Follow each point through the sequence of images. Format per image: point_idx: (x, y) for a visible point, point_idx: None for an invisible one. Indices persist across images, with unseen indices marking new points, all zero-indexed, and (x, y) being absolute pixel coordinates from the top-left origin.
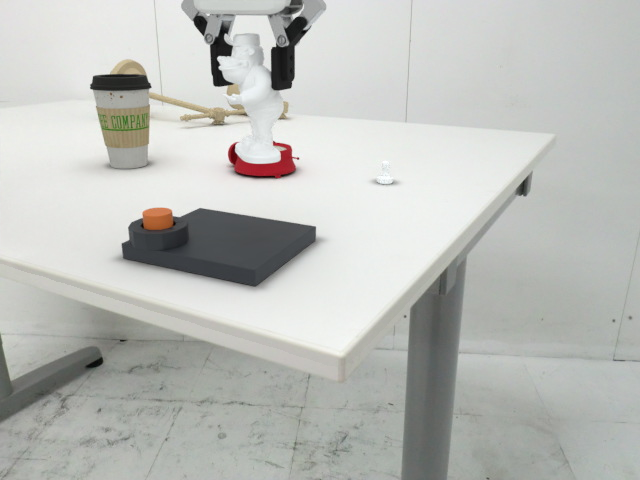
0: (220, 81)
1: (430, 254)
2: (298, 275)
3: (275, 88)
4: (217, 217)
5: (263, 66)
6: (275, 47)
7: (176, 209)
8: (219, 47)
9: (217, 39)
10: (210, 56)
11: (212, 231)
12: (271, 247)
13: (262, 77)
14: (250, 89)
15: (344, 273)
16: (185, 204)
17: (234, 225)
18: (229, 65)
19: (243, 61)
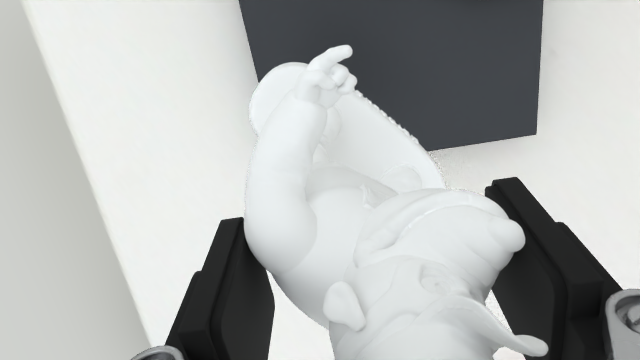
0: (489, 195)
1: (110, 209)
2: (205, 19)
3: (231, 219)
4: (466, 109)
5: (316, 300)
6: (185, 331)
7: (611, 146)
8: (552, 294)
9: (602, 342)
10: (604, 269)
11: (423, 41)
12: (273, 41)
13: (260, 214)
14: (281, 144)
15: (155, 72)
16: (612, 178)
17: (408, 93)
18: (434, 216)
19: (374, 257)
